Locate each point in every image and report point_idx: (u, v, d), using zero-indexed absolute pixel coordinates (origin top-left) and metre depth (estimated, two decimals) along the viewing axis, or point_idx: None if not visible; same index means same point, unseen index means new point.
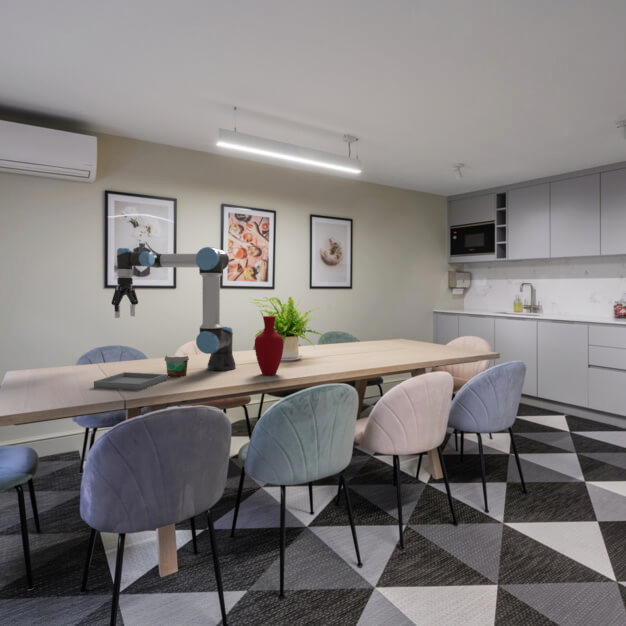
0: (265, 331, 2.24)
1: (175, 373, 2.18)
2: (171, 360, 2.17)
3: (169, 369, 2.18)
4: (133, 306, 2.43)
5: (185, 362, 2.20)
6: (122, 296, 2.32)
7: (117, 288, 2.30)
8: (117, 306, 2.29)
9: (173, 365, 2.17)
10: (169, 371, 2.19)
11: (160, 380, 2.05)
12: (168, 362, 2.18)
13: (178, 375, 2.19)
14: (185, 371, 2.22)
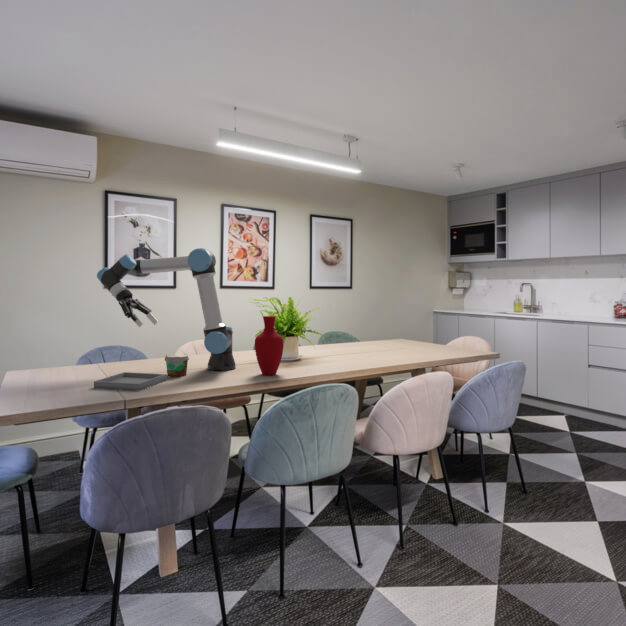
0: (265, 331, 2.24)
1: (175, 373, 2.18)
2: (171, 360, 2.17)
3: (169, 369, 2.18)
4: (149, 314, 2.28)
5: (185, 362, 2.20)
6: (131, 306, 2.18)
7: (121, 302, 2.16)
8: (132, 315, 2.14)
9: (173, 365, 2.17)
10: (169, 371, 2.19)
11: (160, 380, 2.05)
12: (168, 362, 2.18)
13: (178, 375, 2.19)
14: (185, 371, 2.22)
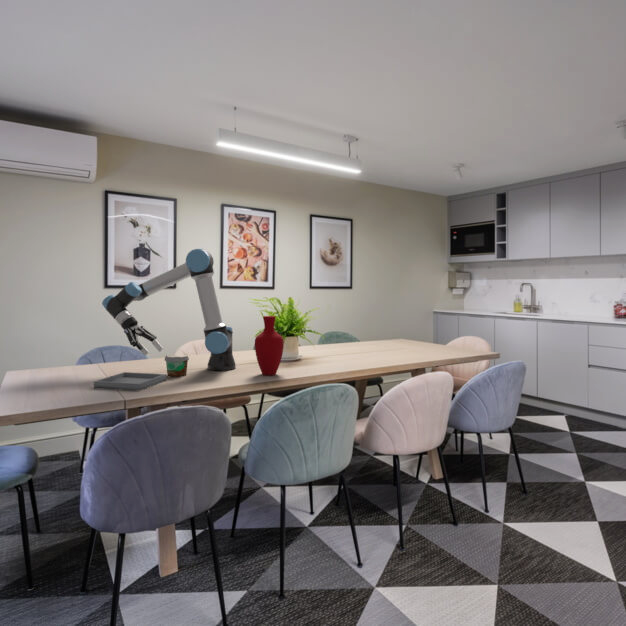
0: (265, 331, 2.24)
1: (175, 373, 2.18)
2: (171, 360, 2.17)
3: (169, 369, 2.18)
4: (155, 341, 2.28)
5: (185, 362, 2.20)
6: (136, 335, 2.18)
7: (126, 330, 2.16)
8: (138, 344, 2.14)
9: (173, 365, 2.17)
10: (169, 371, 2.19)
11: (160, 380, 2.05)
12: (168, 362, 2.18)
13: (178, 375, 2.19)
14: (185, 371, 2.22)
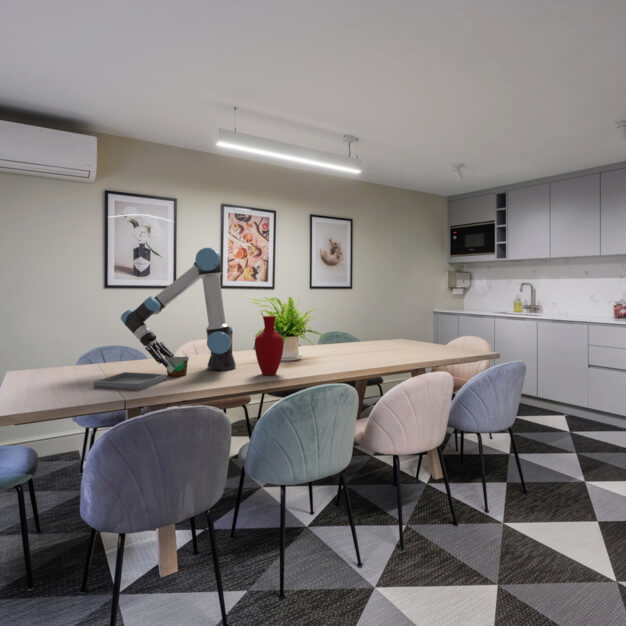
0: (265, 331, 2.24)
1: (175, 373, 2.18)
2: (171, 360, 2.17)
3: None
4: None
5: (185, 362, 2.20)
6: (158, 350, 2.18)
7: (148, 348, 2.15)
8: (164, 361, 2.16)
9: (173, 365, 2.17)
10: None
11: (160, 380, 2.05)
12: None
13: (178, 375, 2.18)
14: (185, 371, 2.22)
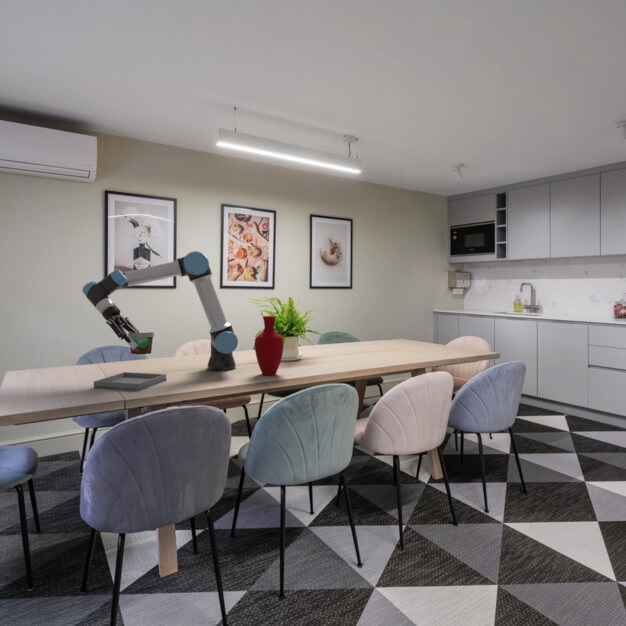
0: (265, 331, 2.24)
1: (138, 350, 2.03)
2: (134, 336, 2.02)
3: None
4: None
5: (150, 338, 2.05)
6: (121, 325, 2.03)
7: (109, 322, 2.00)
8: (126, 336, 2.01)
9: (136, 341, 2.02)
10: None
11: (160, 380, 2.05)
12: None
13: (141, 352, 2.04)
14: (150, 348, 2.07)
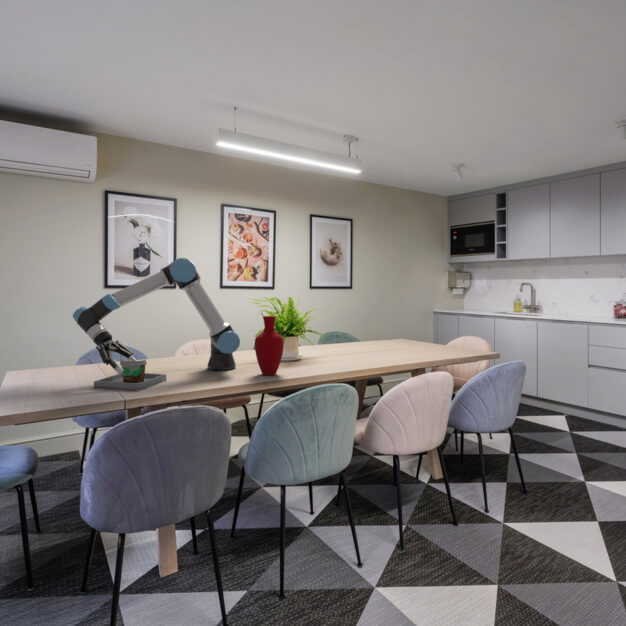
0: (265, 331, 2.24)
1: (131, 378, 1.99)
2: (126, 364, 1.98)
3: (124, 374, 1.99)
4: (131, 358, 2.08)
5: (142, 366, 2.01)
6: (110, 351, 1.98)
7: (98, 346, 1.96)
8: (112, 362, 1.94)
9: (128, 370, 1.98)
10: (124, 376, 1.99)
11: (160, 380, 2.05)
12: (123, 366, 1.99)
13: (134, 381, 1.99)
14: (143, 376, 2.02)
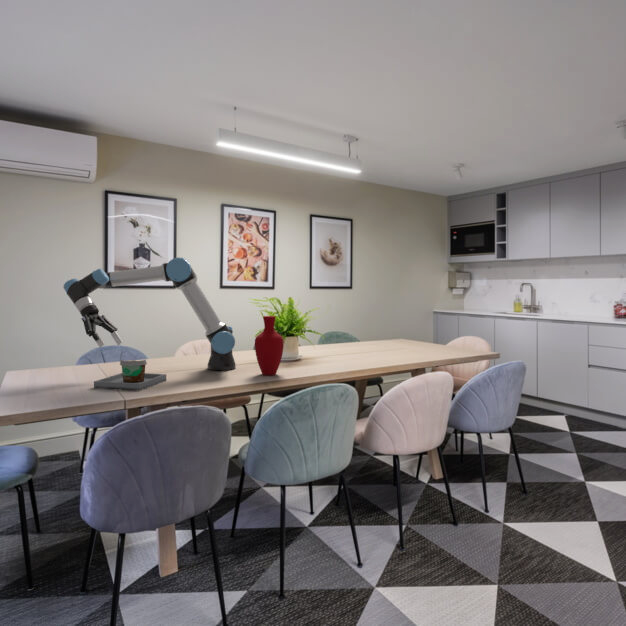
0: (265, 331, 2.24)
1: (131, 378, 1.99)
2: (126, 364, 1.98)
3: (124, 374, 1.99)
4: (114, 333, 2.15)
5: (142, 366, 2.01)
6: (94, 324, 2.04)
7: (84, 318, 2.02)
8: (94, 334, 2.01)
9: (128, 370, 1.98)
10: (124, 376, 1.99)
11: (160, 380, 2.05)
12: (123, 366, 1.99)
13: (134, 381, 1.99)
14: (143, 376, 2.02)
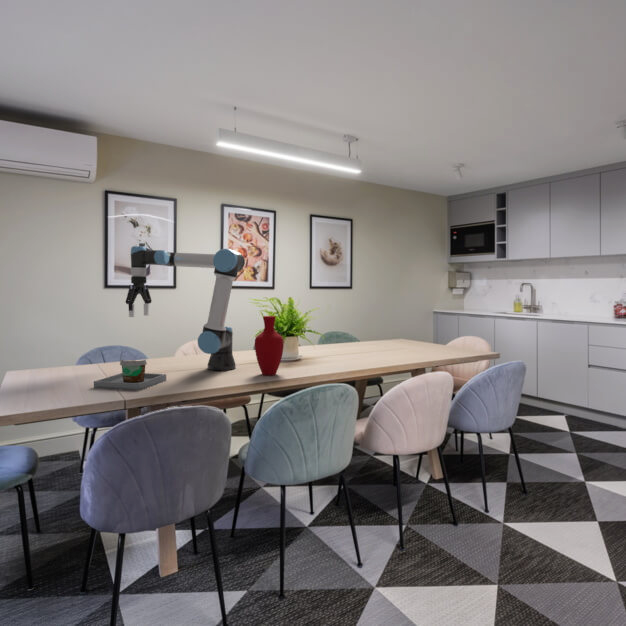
0: (265, 331, 2.24)
1: (131, 378, 1.99)
2: (126, 364, 1.98)
3: (124, 374, 1.99)
4: (146, 305, 2.40)
5: (142, 366, 2.01)
6: (136, 295, 2.29)
7: (131, 287, 2.26)
8: (131, 305, 2.26)
9: (128, 370, 1.98)
10: (124, 376, 1.99)
11: (160, 380, 2.05)
12: (123, 366, 1.99)
13: (134, 381, 1.99)
14: (143, 376, 2.02)
